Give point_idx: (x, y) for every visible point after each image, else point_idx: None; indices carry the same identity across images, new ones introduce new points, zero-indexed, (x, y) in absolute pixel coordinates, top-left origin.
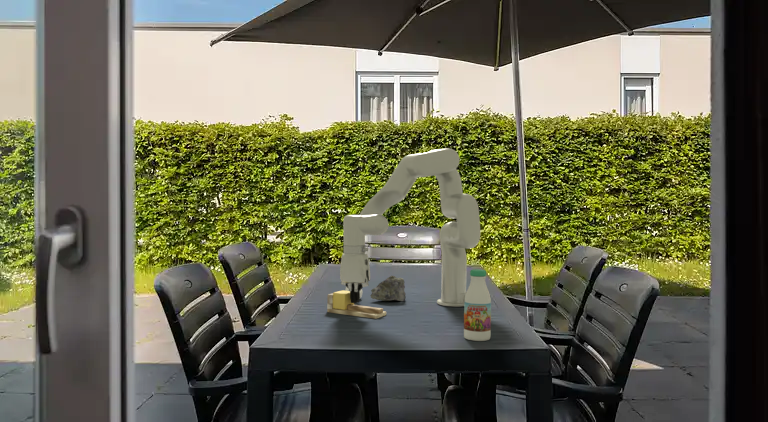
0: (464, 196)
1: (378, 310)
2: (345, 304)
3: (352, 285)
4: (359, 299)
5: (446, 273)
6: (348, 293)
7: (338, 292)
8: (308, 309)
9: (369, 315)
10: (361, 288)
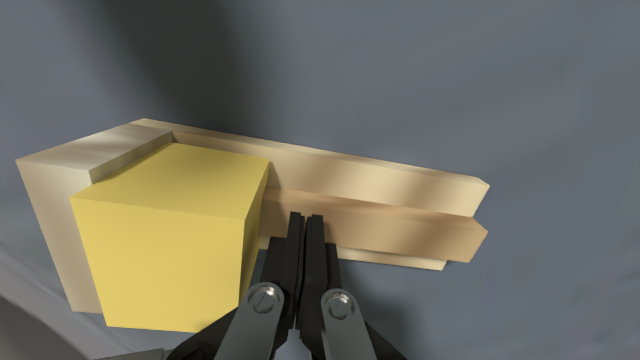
0: None
1: (459, 257)
2: (254, 261)
3: (242, 348)
4: (335, 244)
5: None
6: (240, 295)
7: (140, 305)
8: (11, 202)
9: (405, 262)
10: (375, 342)
